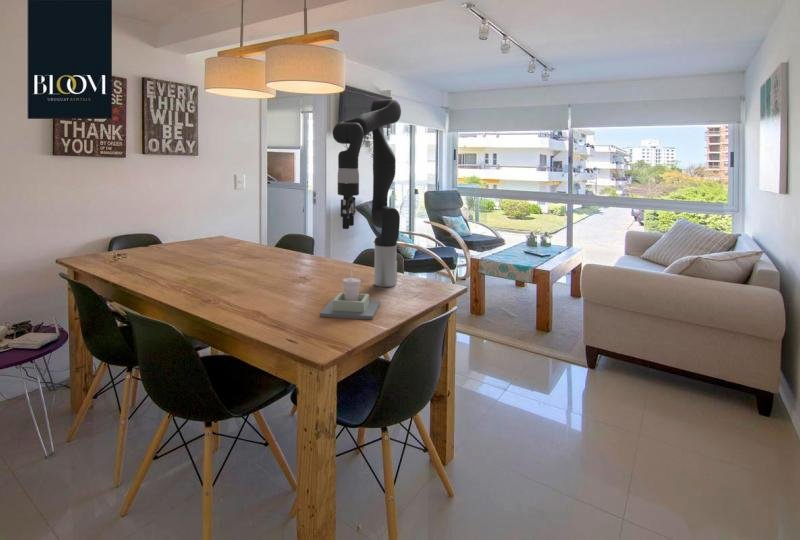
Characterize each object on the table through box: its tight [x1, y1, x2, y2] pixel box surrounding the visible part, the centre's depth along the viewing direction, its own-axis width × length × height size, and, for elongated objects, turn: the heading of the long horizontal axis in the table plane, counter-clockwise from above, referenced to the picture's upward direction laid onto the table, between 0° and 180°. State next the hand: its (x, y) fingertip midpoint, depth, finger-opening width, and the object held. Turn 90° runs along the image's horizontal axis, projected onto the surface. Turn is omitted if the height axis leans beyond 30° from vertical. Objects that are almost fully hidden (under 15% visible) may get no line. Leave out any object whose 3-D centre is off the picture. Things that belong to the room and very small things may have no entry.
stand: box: [319, 292, 381, 320], centre depth 171 cm, size 18×18×5 cm
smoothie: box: [342, 267, 362, 301], centre depth 170 cm, size 6×6×14 cm
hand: (348, 227), depth 174 cm, fingers open, 8 cm apart
